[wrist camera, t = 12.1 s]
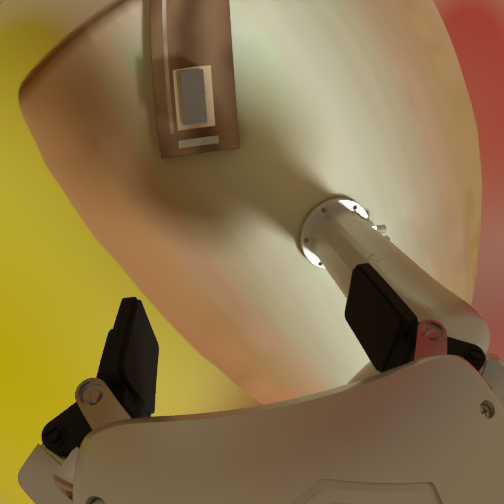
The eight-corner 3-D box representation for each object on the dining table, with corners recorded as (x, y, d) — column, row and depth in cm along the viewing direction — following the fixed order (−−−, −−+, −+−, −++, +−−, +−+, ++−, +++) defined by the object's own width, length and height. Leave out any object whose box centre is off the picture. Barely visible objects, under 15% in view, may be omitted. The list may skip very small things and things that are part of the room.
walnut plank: (225, -37, 20) (226, -46, 17) (237, 146, 35) (240, 148, 32) (153, -29, 19) (151, -37, 16) (163, 156, 34) (160, 159, 31)
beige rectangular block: (209, 72, 27) (210, 64, 23) (213, 124, 31) (215, 125, 26) (177, 76, 27) (172, 69, 22) (181, 128, 30) (177, 130, 26)
